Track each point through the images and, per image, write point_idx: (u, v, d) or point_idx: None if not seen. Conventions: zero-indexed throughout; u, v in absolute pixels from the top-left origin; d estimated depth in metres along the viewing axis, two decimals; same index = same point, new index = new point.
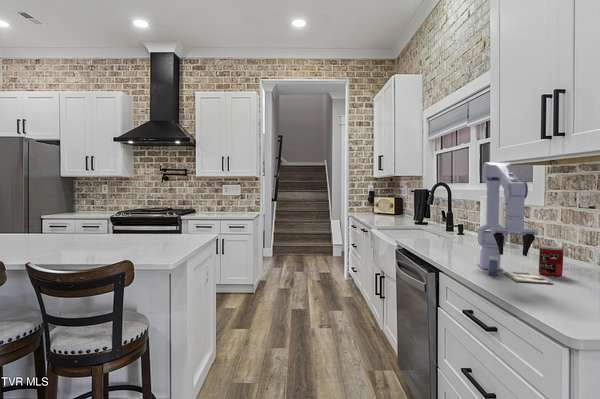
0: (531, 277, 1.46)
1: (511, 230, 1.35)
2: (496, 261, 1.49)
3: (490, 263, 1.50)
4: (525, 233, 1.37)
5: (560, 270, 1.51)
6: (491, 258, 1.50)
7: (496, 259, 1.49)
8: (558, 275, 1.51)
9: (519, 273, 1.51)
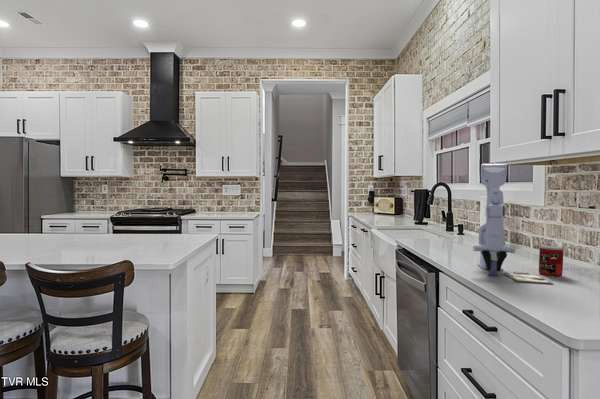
0: (531, 277, 1.46)
1: (491, 248, 1.48)
2: (496, 261, 1.49)
3: (490, 263, 1.50)
4: (504, 251, 1.50)
5: (560, 270, 1.51)
6: (491, 258, 1.50)
7: (496, 259, 1.49)
8: (558, 275, 1.51)
9: (519, 273, 1.51)
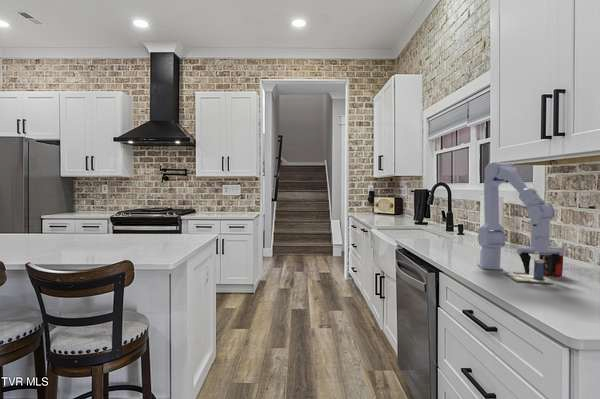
0: (531, 277, 1.46)
1: (537, 250, 1.41)
2: (542, 264, 1.42)
3: (536, 266, 1.42)
4: (550, 253, 1.42)
5: (560, 270, 1.51)
6: (537, 261, 1.42)
7: (542, 262, 1.41)
8: (558, 275, 1.51)
9: (519, 273, 1.51)
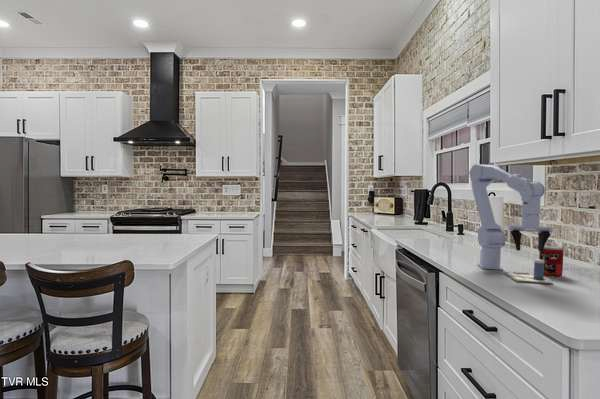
0: (531, 277, 1.46)
1: (528, 227, 1.45)
2: (542, 264, 1.42)
3: (536, 266, 1.42)
4: (541, 230, 1.46)
5: (560, 270, 1.51)
6: (537, 261, 1.42)
7: (542, 262, 1.41)
8: (558, 275, 1.51)
9: (519, 273, 1.51)
